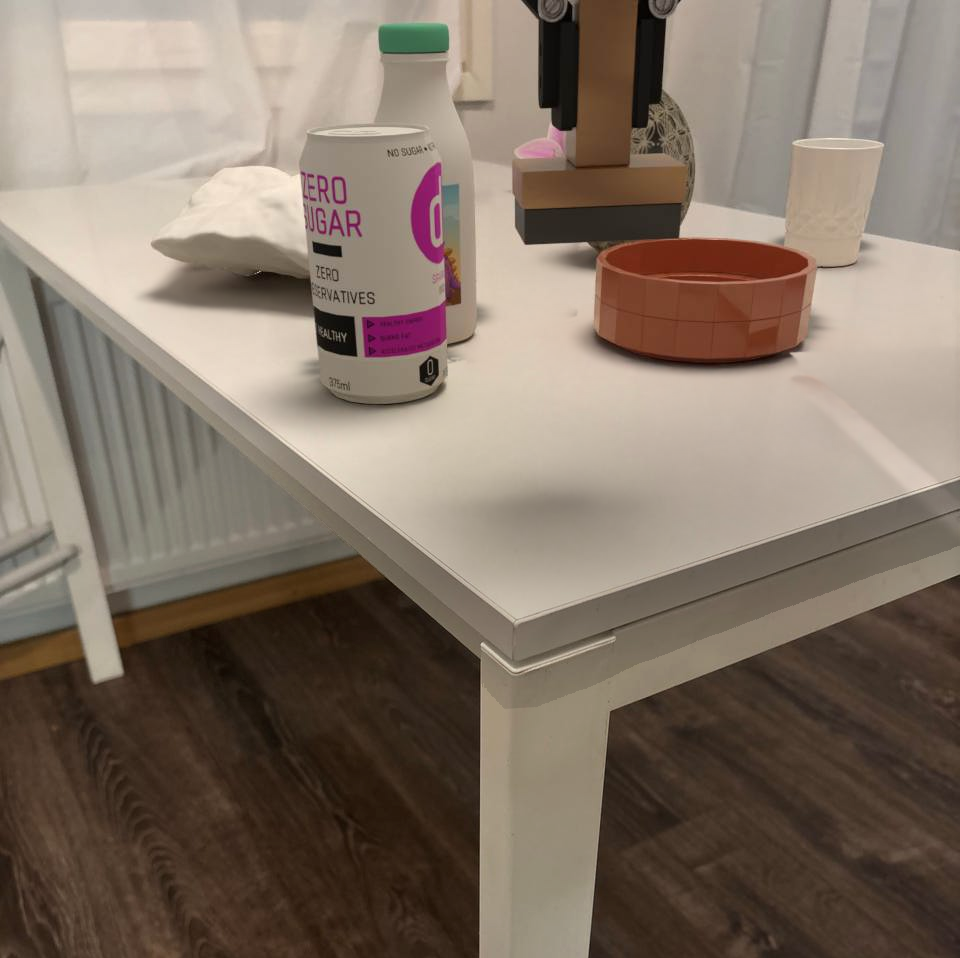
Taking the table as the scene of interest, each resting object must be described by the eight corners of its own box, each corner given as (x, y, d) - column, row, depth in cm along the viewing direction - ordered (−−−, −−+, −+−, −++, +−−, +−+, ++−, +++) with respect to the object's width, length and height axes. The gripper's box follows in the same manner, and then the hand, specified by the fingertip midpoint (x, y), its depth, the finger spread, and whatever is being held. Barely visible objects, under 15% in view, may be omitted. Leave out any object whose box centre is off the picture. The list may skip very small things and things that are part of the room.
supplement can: (460, 370, 68) (454, 122, 61) (428, 411, 62) (416, 138, 54) (346, 364, 70) (326, 121, 62) (302, 403, 63) (273, 137, 55)
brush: (660, 221, 49) (677, -27, 44) (682, 239, 45) (703, -29, 40) (512, 227, 49) (510, -22, 43) (522, 245, 45) (521, -24, 40)
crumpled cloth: (204, 322, 75) (204, 188, 70) (105, 238, 101) (100, 137, 96) (480, 326, 86) (495, 211, 82) (327, 250, 112) (332, 160, 107)
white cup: (763, 262, 95) (779, 145, 90) (793, 248, 101) (810, 136, 95) (847, 272, 91) (868, 150, 86) (874, 256, 97) (895, 140, 92)
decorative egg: (550, 249, 102) (554, 79, 94) (661, 243, 103) (674, 75, 96) (584, 275, 92) (592, 87, 84) (706, 268, 94) (725, 83, 86)
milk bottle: (406, 316, 81) (391, 22, 70) (493, 327, 78) (492, 21, 67) (354, 341, 75) (330, 24, 64) (447, 354, 72) (437, 24, 61)
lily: (511, 197, 135) (493, 131, 127) (587, 155, 136) (574, 87, 128) (553, 241, 129) (537, 175, 121) (633, 196, 129) (623, 127, 121)
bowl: (766, 307, 82) (775, 234, 79) (836, 363, 69) (851, 279, 66) (579, 313, 81) (582, 240, 78) (615, 371, 68) (620, 287, 65)
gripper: (381, -520, 31) (417, 144, 41) (893, -522, 32) (807, 129, 42) (382, -433, 37) (413, 124, 47) (810, -437, 38) (752, 111, 48)
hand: (598, 122), depth 44 cm, fingers closed on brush, 2 cm apart
